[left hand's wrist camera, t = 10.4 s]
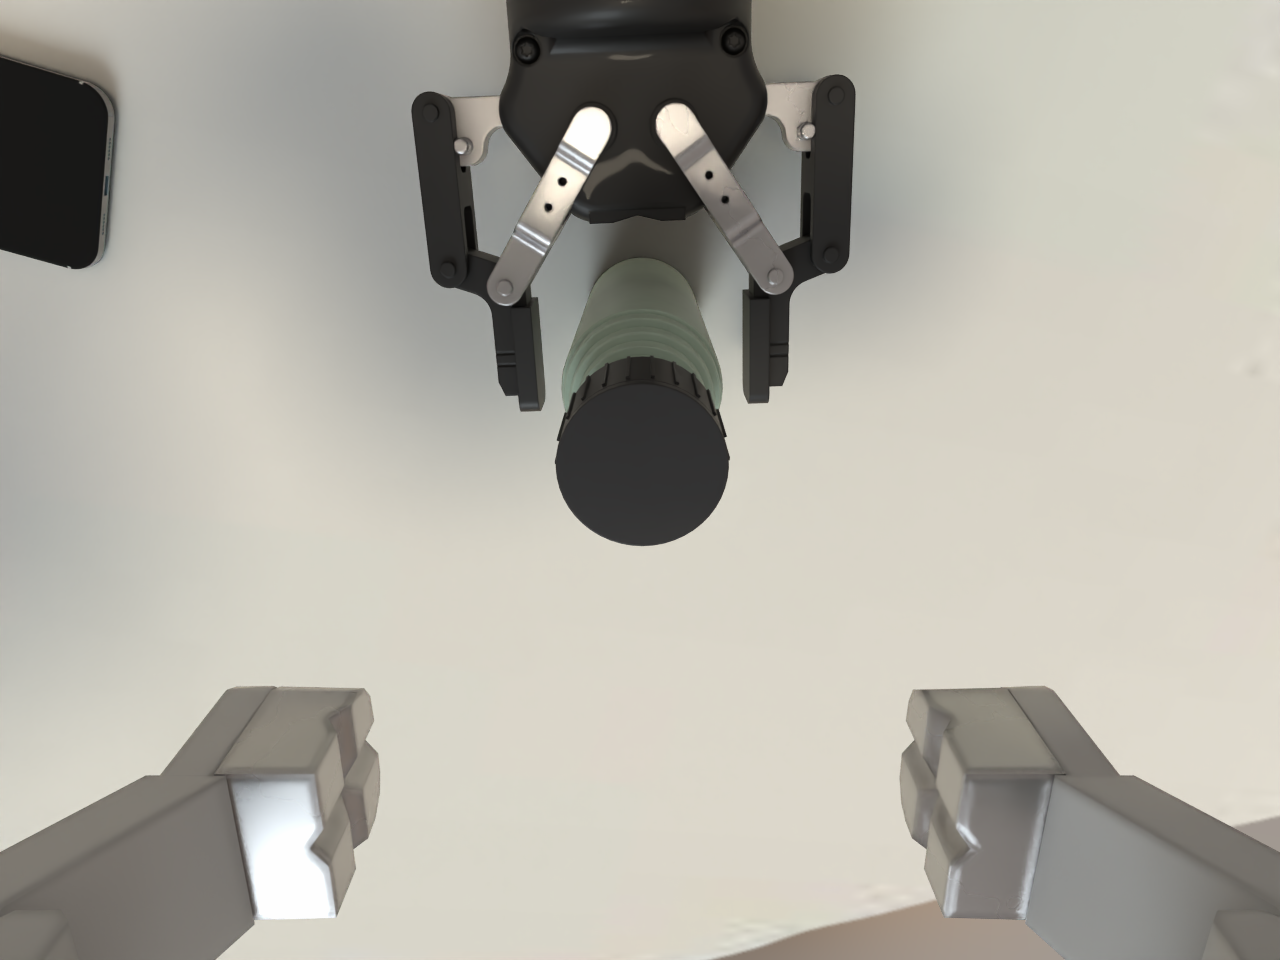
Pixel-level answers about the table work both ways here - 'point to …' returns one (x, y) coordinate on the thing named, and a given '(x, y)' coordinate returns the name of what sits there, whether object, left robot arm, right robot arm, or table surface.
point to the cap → (642, 452)
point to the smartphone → (53, 165)
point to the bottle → (641, 325)
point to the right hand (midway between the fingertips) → (644, 401)
